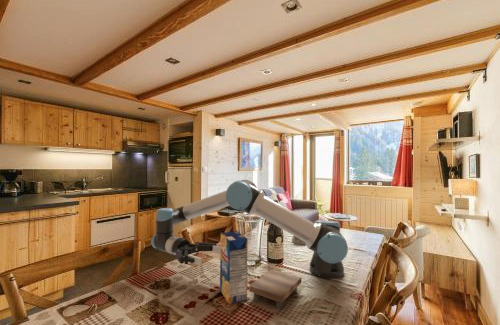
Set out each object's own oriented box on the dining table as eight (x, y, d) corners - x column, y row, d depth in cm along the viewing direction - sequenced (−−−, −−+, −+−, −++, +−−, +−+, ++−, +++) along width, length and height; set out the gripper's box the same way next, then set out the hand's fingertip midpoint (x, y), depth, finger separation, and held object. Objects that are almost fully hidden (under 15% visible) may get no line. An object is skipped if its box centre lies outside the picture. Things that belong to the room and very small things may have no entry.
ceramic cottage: (290, 243, 151) (292, 219, 151) (293, 237, 167) (294, 215, 167) (316, 247, 147) (317, 222, 147) (316, 240, 162) (318, 218, 163)
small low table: (271, 281, 101) (271, 269, 101) (301, 290, 94) (301, 277, 94) (249, 299, 87) (249, 285, 87) (281, 312, 79) (282, 296, 79)
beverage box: (228, 304, 84) (229, 240, 84) (219, 289, 94) (220, 232, 94) (247, 300, 86) (247, 238, 87) (236, 286, 96) (237, 230, 97)
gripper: (198, 247, 118) (232, 256, 106) (153, 264, 97) (189, 278, 85) (198, 231, 118) (233, 239, 106) (153, 245, 97) (190, 256, 85)
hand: (213, 256), depth 96 cm, fingers open, 13 cm apart
